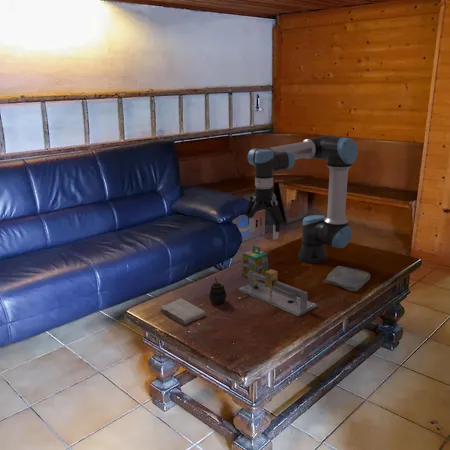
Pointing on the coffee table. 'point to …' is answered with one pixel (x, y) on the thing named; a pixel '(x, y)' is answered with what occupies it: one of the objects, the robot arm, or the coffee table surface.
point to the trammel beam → (277, 295)
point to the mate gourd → (217, 293)
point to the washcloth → (182, 311)
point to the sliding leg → (270, 278)
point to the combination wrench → (285, 292)
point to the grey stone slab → (347, 278)
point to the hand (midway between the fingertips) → (263, 235)
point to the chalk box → (255, 262)
